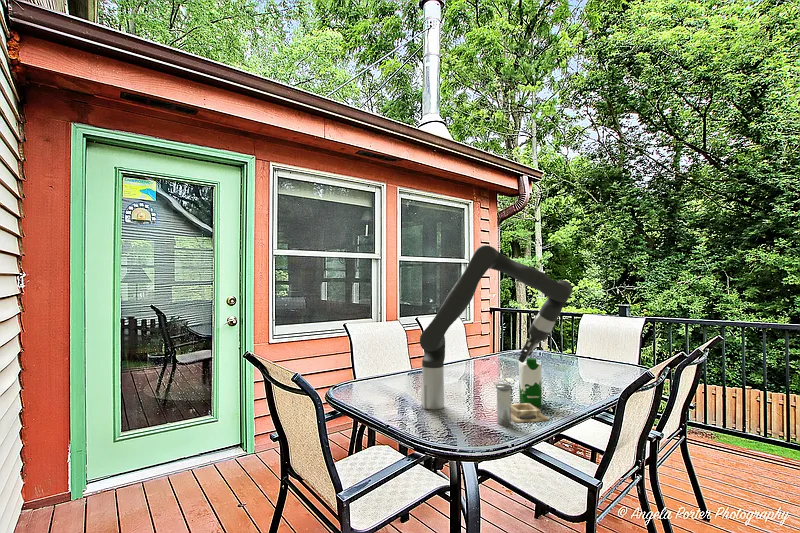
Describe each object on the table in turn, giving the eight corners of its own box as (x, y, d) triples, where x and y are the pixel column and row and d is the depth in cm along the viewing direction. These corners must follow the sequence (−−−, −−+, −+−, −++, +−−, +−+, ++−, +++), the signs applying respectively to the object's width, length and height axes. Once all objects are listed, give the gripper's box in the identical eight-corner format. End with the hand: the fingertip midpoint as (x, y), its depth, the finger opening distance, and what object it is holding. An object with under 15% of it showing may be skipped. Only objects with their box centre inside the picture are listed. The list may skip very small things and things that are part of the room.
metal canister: (499, 426, 152) (499, 388, 152) (494, 421, 157) (493, 384, 158) (514, 425, 152) (514, 387, 153) (508, 420, 158) (507, 383, 158)
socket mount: (514, 422, 155) (514, 413, 155) (500, 410, 169) (500, 402, 169) (549, 420, 157) (548, 411, 157) (532, 409, 171) (532, 401, 171)
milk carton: (523, 408, 173) (523, 360, 173) (517, 401, 182) (516, 356, 182) (544, 407, 173) (543, 359, 174) (536, 401, 182) (535, 355, 183)
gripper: (539, 316, 170) (522, 347, 176) (527, 325, 158) (509, 358, 165) (555, 326, 166) (538, 357, 173) (545, 336, 155) (526, 369, 161)
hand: (524, 357), depth 169 cm, fingers open, 8 cm apart
